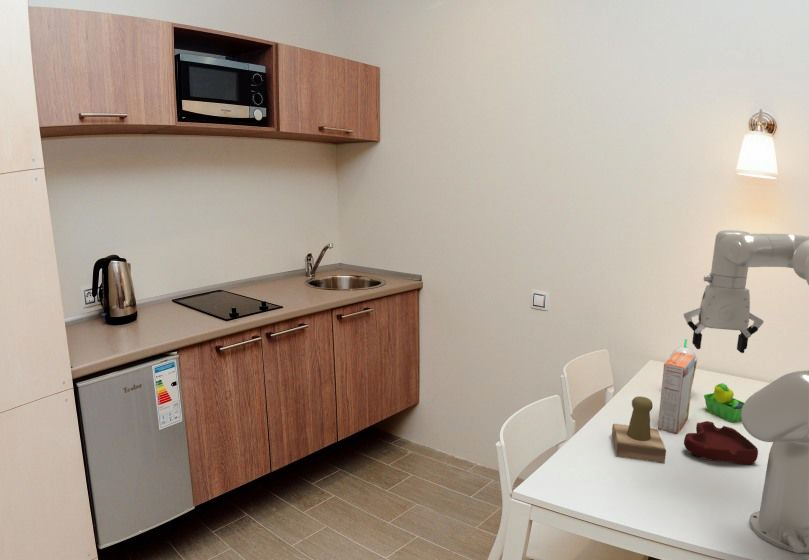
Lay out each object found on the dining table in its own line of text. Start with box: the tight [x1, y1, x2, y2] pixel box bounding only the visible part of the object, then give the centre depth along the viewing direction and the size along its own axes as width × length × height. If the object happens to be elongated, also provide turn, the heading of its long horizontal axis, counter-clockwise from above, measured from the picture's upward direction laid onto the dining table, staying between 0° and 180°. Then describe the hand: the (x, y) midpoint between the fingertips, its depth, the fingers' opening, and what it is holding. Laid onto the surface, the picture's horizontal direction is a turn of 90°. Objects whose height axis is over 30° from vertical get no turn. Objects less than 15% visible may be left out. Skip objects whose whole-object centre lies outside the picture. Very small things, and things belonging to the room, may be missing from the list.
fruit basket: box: [703, 382, 745, 423], centre depth 171 cm, size 11×9×11 cm
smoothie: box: [669, 338, 699, 390], centre depth 185 cm, size 8×8×20 cm
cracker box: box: [657, 352, 695, 435], centre depth 163 cm, size 14×6×21 cm, turn 141°
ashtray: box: [683, 420, 759, 465], centre depth 147 cm, size 18×16×5 cm
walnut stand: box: [611, 423, 667, 464], centre depth 149 cm, size 12×12×4 cm
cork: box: [627, 396, 653, 441], centre depth 148 cm, size 6×6×11 cm
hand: (718, 349), depth 134 cm, fingers open, 9 cm apart
